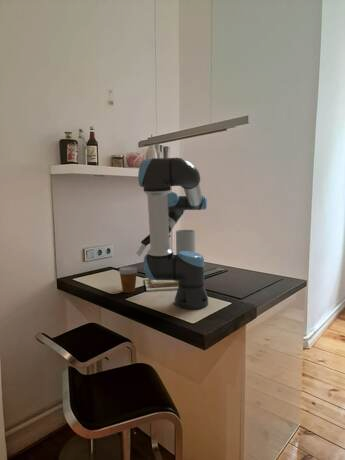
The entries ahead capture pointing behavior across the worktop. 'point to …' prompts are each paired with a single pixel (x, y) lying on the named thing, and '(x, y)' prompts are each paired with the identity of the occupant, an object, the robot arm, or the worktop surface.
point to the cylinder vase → (185, 240)
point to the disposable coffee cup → (128, 278)
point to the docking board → (160, 285)
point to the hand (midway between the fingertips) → (145, 256)
